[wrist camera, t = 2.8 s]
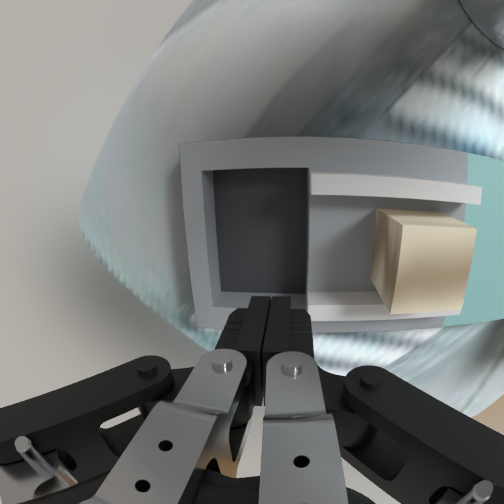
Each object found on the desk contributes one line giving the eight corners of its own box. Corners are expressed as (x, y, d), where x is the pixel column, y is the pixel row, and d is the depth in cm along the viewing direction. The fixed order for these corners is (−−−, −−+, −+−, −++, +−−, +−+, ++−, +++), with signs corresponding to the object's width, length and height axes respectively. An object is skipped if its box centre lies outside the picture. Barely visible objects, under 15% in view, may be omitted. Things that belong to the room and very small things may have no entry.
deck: (193, 145, 21) (166, 142, 16) (513, 166, 16) (547, 171, 12) (207, 309, 25) (189, 341, 20) (492, 304, 21) (516, 328, 16)
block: (376, 208, 17) (403, 225, 13) (439, 211, 17) (476, 228, 12) (370, 278, 19) (390, 314, 14) (430, 277, 18) (460, 309, 13)
